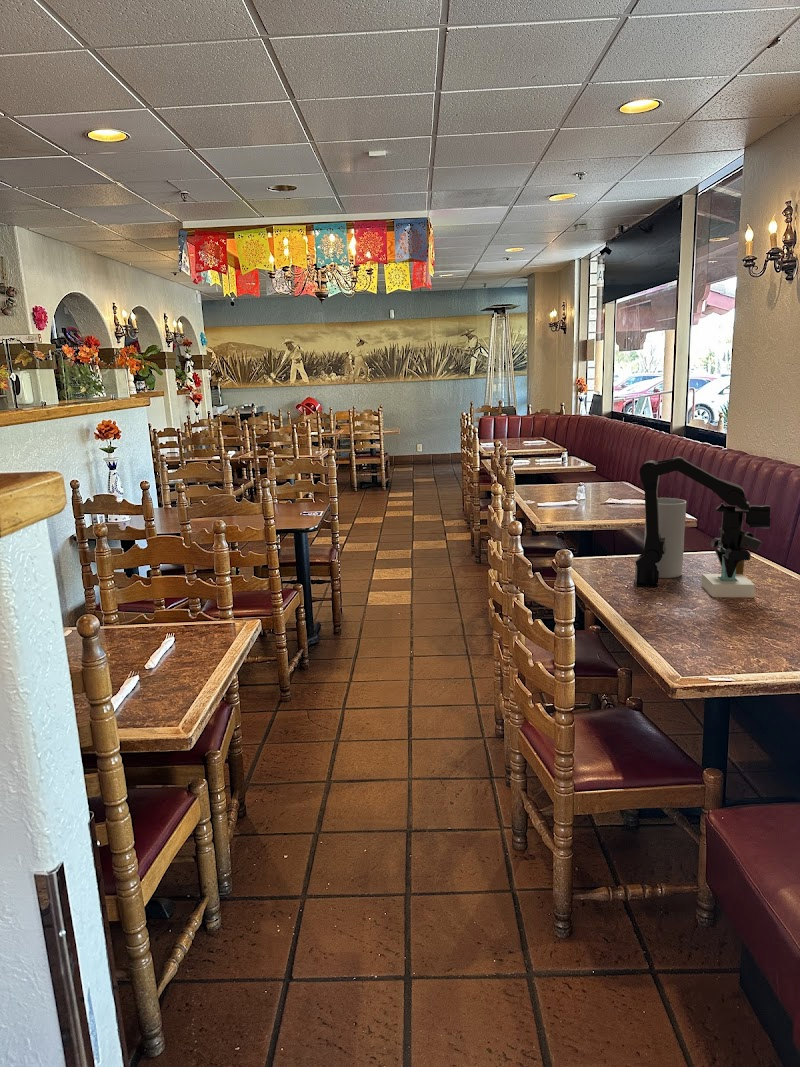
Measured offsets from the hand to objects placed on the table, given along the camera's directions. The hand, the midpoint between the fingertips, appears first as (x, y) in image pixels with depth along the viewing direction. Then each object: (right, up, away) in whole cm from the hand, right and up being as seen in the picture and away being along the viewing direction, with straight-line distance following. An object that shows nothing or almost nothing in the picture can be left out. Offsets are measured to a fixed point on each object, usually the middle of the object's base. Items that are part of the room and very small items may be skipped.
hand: (728, 575), depth 225 cm
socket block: (0, -5, +1) cm, 5 cm away
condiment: (+8, -3, +12) cm, 14 cm away
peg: (0, -2, 0) cm, 3 cm away
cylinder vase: (-12, -1, +22) cm, 25 cm away
